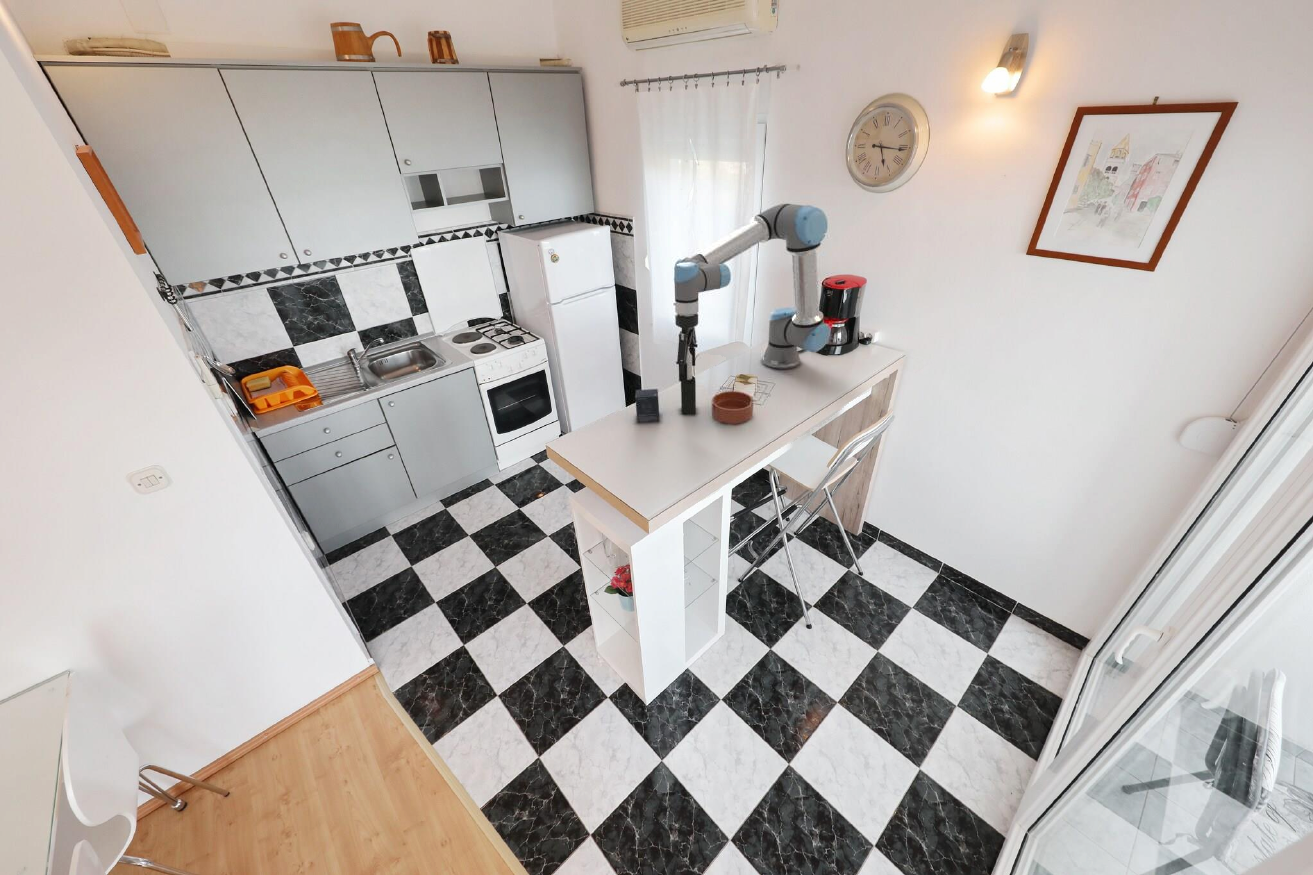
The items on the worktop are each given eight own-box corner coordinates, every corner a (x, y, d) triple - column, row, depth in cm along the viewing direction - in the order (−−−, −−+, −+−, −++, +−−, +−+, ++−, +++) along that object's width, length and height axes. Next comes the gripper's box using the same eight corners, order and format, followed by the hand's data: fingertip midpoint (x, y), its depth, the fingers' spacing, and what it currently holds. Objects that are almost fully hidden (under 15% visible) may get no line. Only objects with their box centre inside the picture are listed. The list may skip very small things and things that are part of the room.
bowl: (730, 401, 187) (731, 387, 184) (761, 415, 177) (762, 400, 174) (703, 415, 179) (703, 400, 176) (733, 429, 170) (733, 414, 166)
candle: (695, 414, 180) (695, 349, 167) (681, 415, 180) (680, 349, 167) (695, 407, 184) (694, 343, 171) (681, 408, 184) (679, 344, 171)
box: (659, 414, 181) (658, 388, 176) (659, 422, 176) (657, 395, 171) (637, 415, 181) (635, 389, 176) (637, 423, 177) (635, 396, 171)
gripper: (683, 301, 174) (684, 358, 185) (666, 325, 154) (668, 387, 165) (705, 302, 172) (704, 359, 183) (690, 326, 152) (690, 389, 163)
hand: (687, 373), depth 174 cm, fingers open, 13 cm apart
